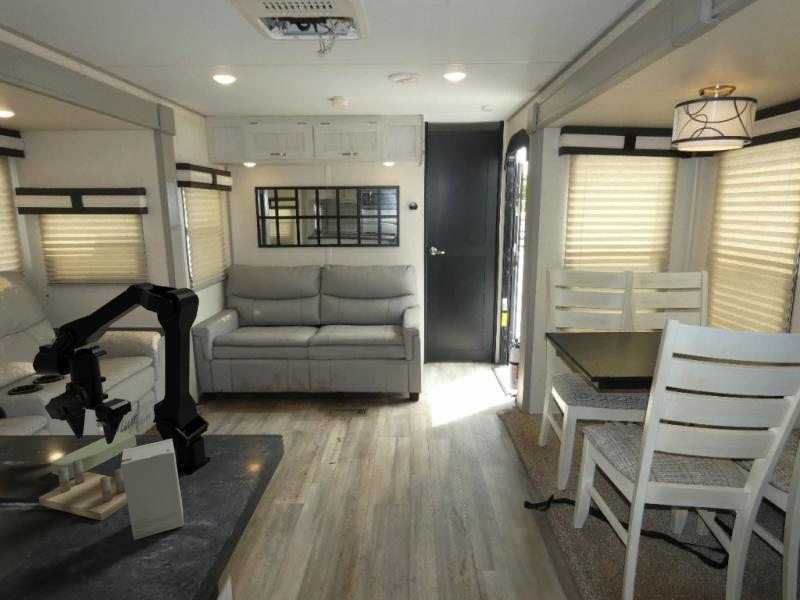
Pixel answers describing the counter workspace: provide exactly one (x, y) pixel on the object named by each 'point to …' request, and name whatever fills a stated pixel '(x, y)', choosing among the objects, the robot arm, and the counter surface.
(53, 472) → the plank
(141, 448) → the skincare box
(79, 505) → the peg stand
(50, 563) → the counter surface
